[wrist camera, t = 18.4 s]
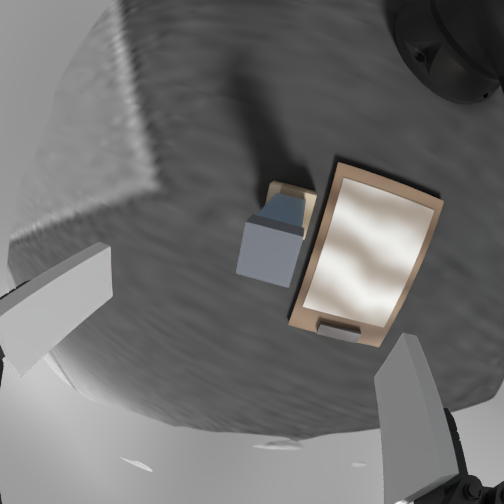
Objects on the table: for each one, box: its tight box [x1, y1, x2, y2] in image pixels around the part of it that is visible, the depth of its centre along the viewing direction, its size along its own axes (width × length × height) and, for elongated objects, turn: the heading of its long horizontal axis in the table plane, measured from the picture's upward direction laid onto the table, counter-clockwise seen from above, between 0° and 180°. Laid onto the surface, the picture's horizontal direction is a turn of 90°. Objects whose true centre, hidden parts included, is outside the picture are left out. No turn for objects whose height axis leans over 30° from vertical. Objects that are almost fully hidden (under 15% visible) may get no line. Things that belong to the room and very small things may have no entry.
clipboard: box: [288, 162, 444, 347], centre depth 31 cm, size 22×14×1 cm, turn 169°
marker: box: [236, 193, 306, 288], centre depth 23 cm, size 4×4×14 cm
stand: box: [265, 180, 317, 240], centre depth 30 cm, size 5×5×3 cm
